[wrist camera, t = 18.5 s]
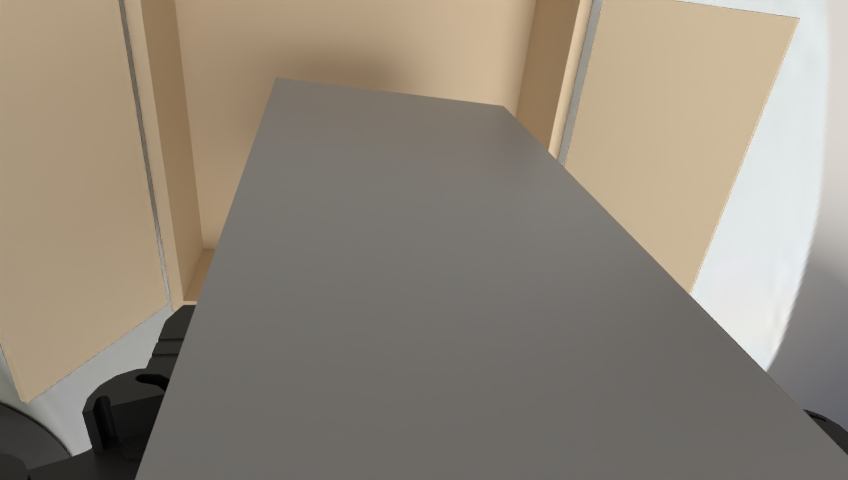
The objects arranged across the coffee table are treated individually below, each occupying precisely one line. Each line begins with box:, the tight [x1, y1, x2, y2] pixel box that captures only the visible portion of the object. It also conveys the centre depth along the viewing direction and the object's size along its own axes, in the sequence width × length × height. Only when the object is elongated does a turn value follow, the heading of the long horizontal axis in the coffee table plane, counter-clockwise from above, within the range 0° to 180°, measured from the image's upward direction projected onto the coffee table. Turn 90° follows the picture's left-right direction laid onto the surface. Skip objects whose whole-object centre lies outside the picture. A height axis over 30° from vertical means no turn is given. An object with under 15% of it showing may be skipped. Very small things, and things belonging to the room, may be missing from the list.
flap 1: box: [0, 0, 168, 404], centre depth 17 cm, size 6×13×1 cm
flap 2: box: [564, 0, 800, 295], centre depth 20 cm, size 6×13×1 cm
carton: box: [124, 0, 593, 311], centre depth 24 cm, size 16×15×5 cm
